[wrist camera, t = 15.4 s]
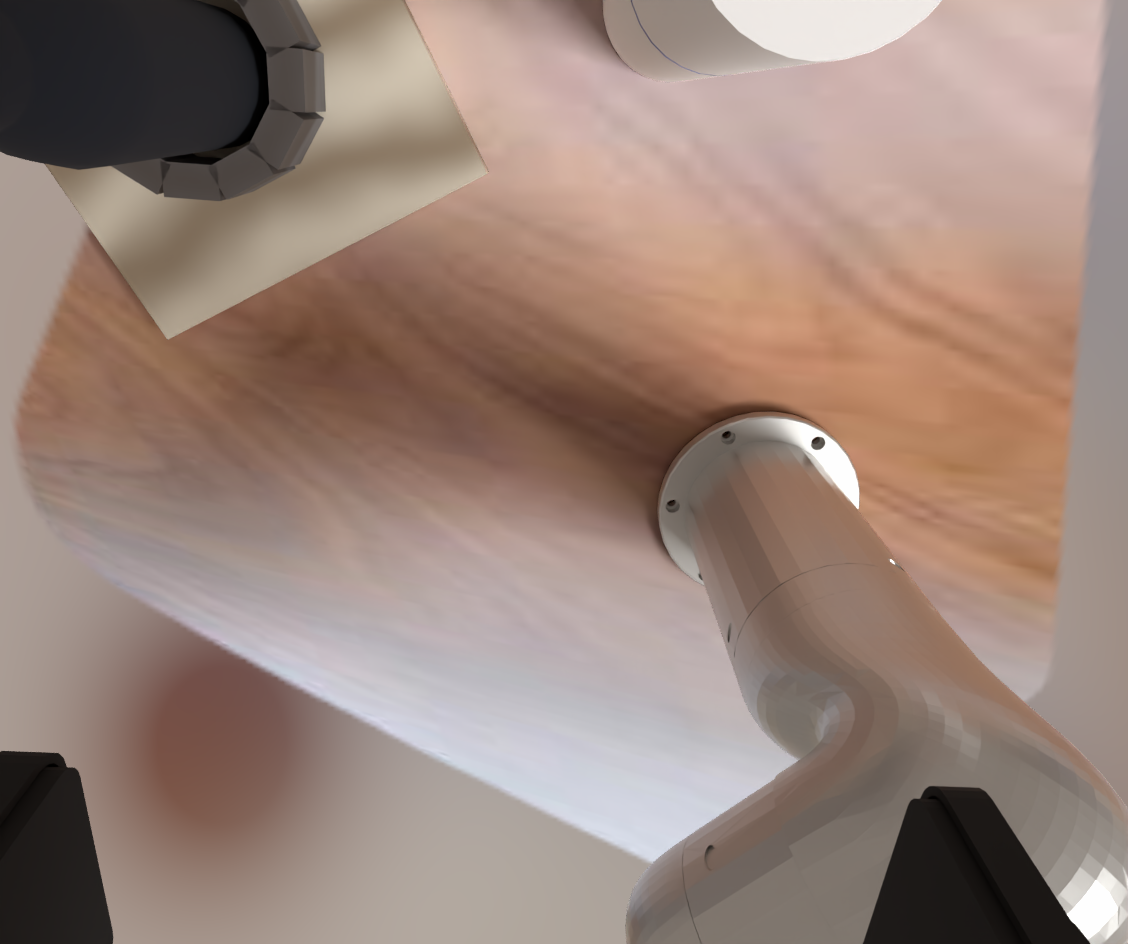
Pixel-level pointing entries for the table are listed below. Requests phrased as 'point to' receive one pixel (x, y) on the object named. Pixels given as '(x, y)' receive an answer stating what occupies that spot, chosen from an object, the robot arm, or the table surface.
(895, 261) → the table surface
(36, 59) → the wine bottle
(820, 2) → the cylindrical container
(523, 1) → the table surface
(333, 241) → the bottle stand
